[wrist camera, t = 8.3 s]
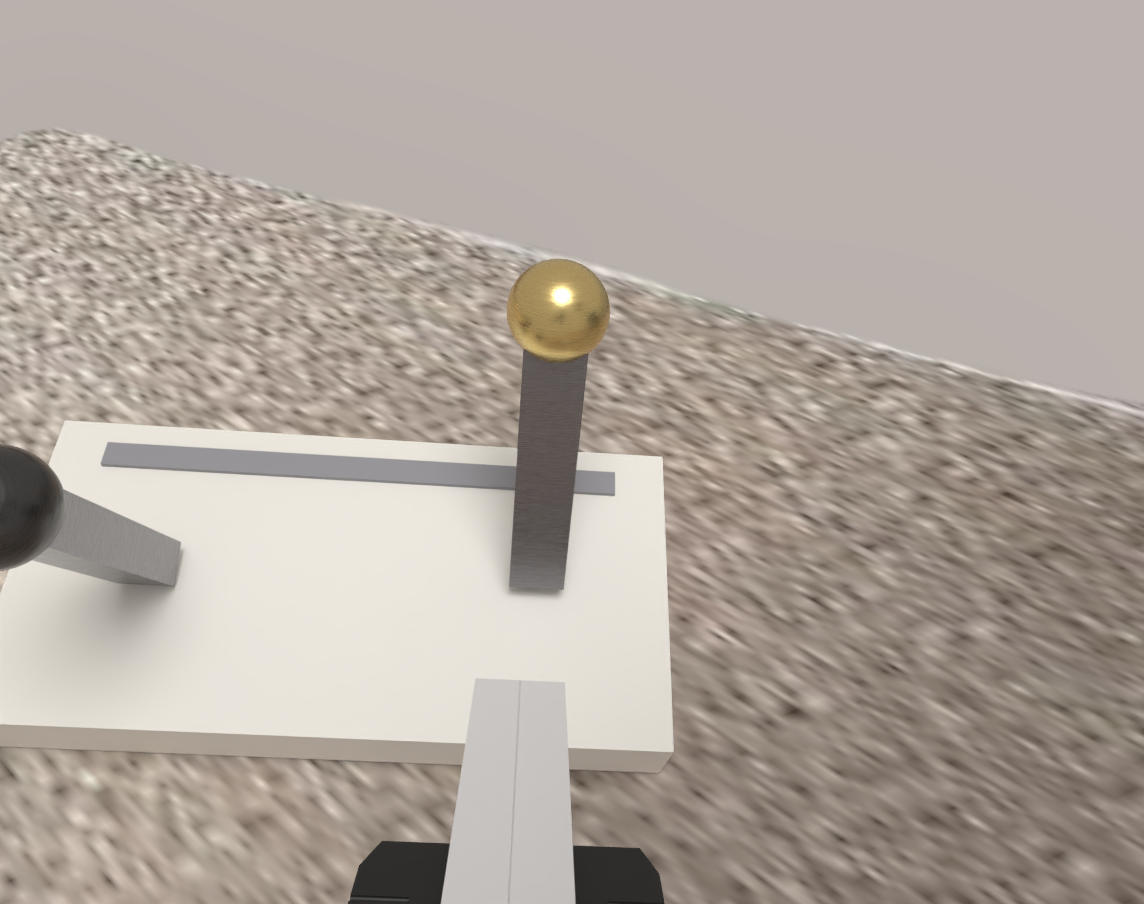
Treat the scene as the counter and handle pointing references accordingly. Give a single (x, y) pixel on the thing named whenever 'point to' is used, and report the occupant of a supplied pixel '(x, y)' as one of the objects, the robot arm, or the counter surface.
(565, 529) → the brass lever
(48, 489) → the black lever
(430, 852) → the robot arm
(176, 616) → the control panel
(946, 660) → the counter surface
